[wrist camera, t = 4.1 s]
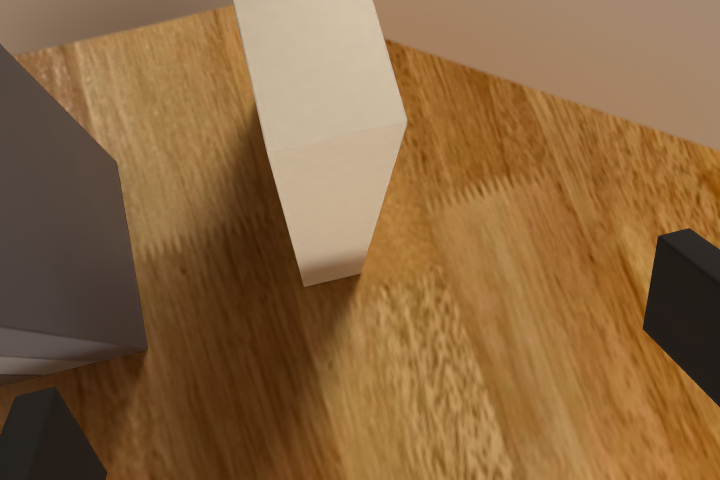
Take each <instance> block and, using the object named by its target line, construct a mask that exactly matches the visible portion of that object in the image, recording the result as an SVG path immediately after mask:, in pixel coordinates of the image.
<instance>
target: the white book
mask: <svg viewBox="0 0 720 480" xmlns="http://www.w3.org/2000/svg"><path fill="white" fill-rule="evenodd" d="M232 1H233V6H234V11H235V15H236V19H237V24H238V28H239V33H240V37H241V41H242V46H243V50H244V54H245V59H246V63H247V68H248V72H249V76H250V81H251V85H252V90H253V94H254V98H255V103H256V107H257V112H258V116H259V120H260V125H261V129H262V134H263V138H264V142H265V147H266V151H267V155H268V158H269V162H270V166H271V169H272V173H273V176H274V180H275V184H276V187H277V191H278V195H279V198H280V202H281V205H282V209H283V213H284V216H285V220H286V224H287V227H288V231H289V234H290V238H291V242H292V245H293V249H294V253H295V256H296V260H297V263H298V267H299V271H300V274H301V278H302V282H303V285H304V287H306V286H310V285H315V284H319V283H323V282H327V281H331V280H336V279H340V278H344V277H348V276H352V275H357V274H361V272H362V269H363V265H364V262H365V259H366V256H367V252H368V249H369V246H370V243H371V240H372V236H373V233H374V230H375V227H376V223H377V220H378V217H379V214H380V210H381V207H382V204H383V201H384V197H385V194H386V191H387V188H388V184H389V181H390V178H391V175H392V171H393V168H394V165H395V162H396V159H397V155H398V152H399V149H400V146H401V142H402V139H403V136H404V133H405V129H406V126H407V123H408V120H407V117H406V113H405V110H404V106H403V103H402V100H401V96H400V93H399V89H398V86H397V82H396V79H395V75H394V72H393V68H392V65H391V61H390V58H389V54H388V51H387V48H386V44H385V41H384V37H383V34H382V30H381V27H380V24H379V20H378V16H377V13H376V9H375V6H374V2H373V0H232Z"/></svg>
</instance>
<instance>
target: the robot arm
mask: <svg viewBox="0 0 720 480" xmlns="http://www.w3.org/2000/svg"><path fill="white" fill-rule="evenodd" d="M643 330H644V331H645V332H646V333H647V334H648V335H649V336H650V337H651V338H652V339H653V340H654V341H655V342H656V343H657V344H658V345H659V346H660V347H661V348H662V349H663V350H664V351H665V352H666V353H667V354H668V355H669V356H670V357H671V358H672V359H673V360H674V361H675V362H676V363H677V364H678V365H679V366H680V367H681V368H682V369H683V370H684V371H685V372H686V373H687V374H688V375H689V376H690V377H691V378H692V379H693V380H694V381H695V382H696V383H697V385H698V386H699V387H700V388H701V389H702V390H703V391H704V392H705V393H706V394H707V395H708V396H709V397H710V398H711V399H712V400H713V401H714V402H715V403H716V404H717V405H718V406H719V407H720V250H719V249H718V248H717V247H715V246H714V245H712V244H711V243H710V242H708V241H707V240H705V239H704V238H702V237H701V236H700V235H698V234H697V233H695V232H694V231H693V230H691V229H690V228H688V229H684V230H680V231H676V232H672V233H668V234H664V235H660V236H658V240H657V246H656V252H655V258H654V264H653V270H652V276H651V282H650V288H649V294H648V300H647V306H646V312H645V318H644V324H643ZM106 475H107V471H106V470H105V468H104V466H103V465H102V463H101V461H100V460H99V458H98V457H97V455H96V453H95V452H94V450H93V448H92V447H91V445H90V443H89V442H88V440H87V438H86V437H85V435H84V433H83V432H82V430H81V428H80V427H79V425H78V423H77V422H76V420H75V418H74V417H73V415H72V413H71V412H70V410H69V408H68V407H67V405H66V404H65V402H64V400H63V399H62V397H61V395H60V394H59V392H58V390H57V389H56V387H52V388H48V389H44V390H40V391H36V392H32V393H28V394H24V395H20V396H16V397H15V399H14V402H13V404H12V407H11V409H10V412H9V414H8V417H7V420H6V422H5V425H4V427H3V430H2V432H1V435H0V480H106Z"/></svg>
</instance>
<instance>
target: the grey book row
mask: <svg viewBox="0 0 720 480" xmlns="http://www.w3.org/2000/svg"><path fill="white" fill-rule="evenodd" d="M147 349H148V346H147V340H146V334H145V328H144V322H143V316H142V310H141V304H140V298H139V292H138V286H137V280H136V274H135V268H134V262H133V256H132V250H131V244H130V238H129V232H128V226H127V220H126V214H125V208H124V202H123V196H122V190H121V184H120V178H119V172H118V166H117V162H116V161H115V160H114V159H113V158H112V157H111V156H110V155H109V154H108V153H107V152H106V151H105V150H104V149H103V148H102V147H101V146H100V145H99V144H98V143H97V142H96V141H95V140H94V139H93V138H92V137H91V136H90V135H89V134H88V132H87V131H86V130H85V129H84V128H83V127H82V126H81V125H80V124H79V123H78V122H77V121H76V120H75V119H74V118H73V117H72V116H71V115H70V114H69V113H68V112H67V111H66V110H65V109H64V108H63V107H62V106H61V105H60V104H59V103H58V102H57V101H56V100H55V99H54V98H53V97H52V96H51V95H50V94H49V93H48V92H47V91H46V90H45V89H44V88H43V87H42V86H41V85H40V84H39V83H38V82H37V81H36V80H35V79H34V78H33V77H32V76H31V75H30V74H29V73H28V72H27V71H26V70H25V69H24V68H23V67H22V66H21V65H20V63H19V62H18V61H17V60H16V59H15V58H14V57H13V56H12V55H11V54H10V53H9V52H8V51H7V50H6V49H5V48H4V47H3V46H2V45H1V44H0V386H3V385H7V384H11V383H15V382H19V381H23V380H27V379H31V378H36V377H40V376H42V375H48V374H52V373H56V372H60V371H64V370H68V369H72V368H76V367H80V366H85V365H89V364H93V363H95V361H96V362H101V361H105V360H109V359H113V358H118V357H122V356H126V355H130V354H134V353H138V352H142V351H146V350H147Z"/></svg>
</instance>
